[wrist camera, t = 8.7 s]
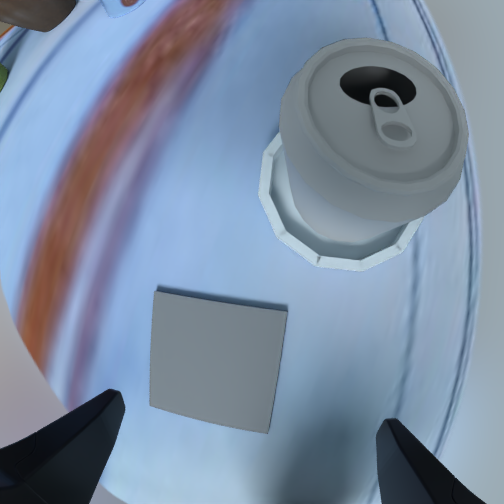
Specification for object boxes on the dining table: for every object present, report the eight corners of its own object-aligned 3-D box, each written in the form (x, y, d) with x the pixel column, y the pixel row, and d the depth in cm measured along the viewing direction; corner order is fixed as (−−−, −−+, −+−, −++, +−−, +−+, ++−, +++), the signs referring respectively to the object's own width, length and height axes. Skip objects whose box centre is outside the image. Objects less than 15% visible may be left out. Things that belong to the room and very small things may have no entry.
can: (386, 138, 19) (447, 34, 7) (400, 240, 19) (504, 212, 7) (286, 142, 20) (265, 25, 9) (294, 246, 20) (284, 221, 8)
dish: (411, 277, 19) (420, 278, 17) (254, 259, 21) (250, 259, 19) (414, 130, 19) (421, 120, 18) (271, 112, 21) (269, 100, 19)
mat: (268, 431, 20) (267, 433, 20) (151, 403, 22) (149, 405, 21) (287, 311, 20) (286, 312, 20) (156, 290, 22) (154, 291, 22)
